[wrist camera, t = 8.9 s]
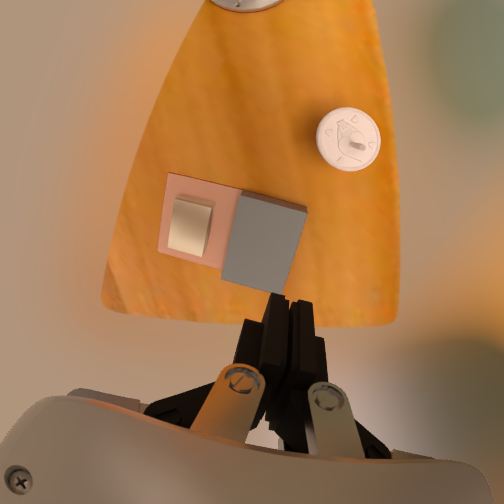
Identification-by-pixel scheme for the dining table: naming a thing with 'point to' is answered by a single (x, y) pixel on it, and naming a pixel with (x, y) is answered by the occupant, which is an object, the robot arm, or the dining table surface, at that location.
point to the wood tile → (191, 225)
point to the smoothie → (348, 139)
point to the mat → (221, 221)
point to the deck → (263, 242)
